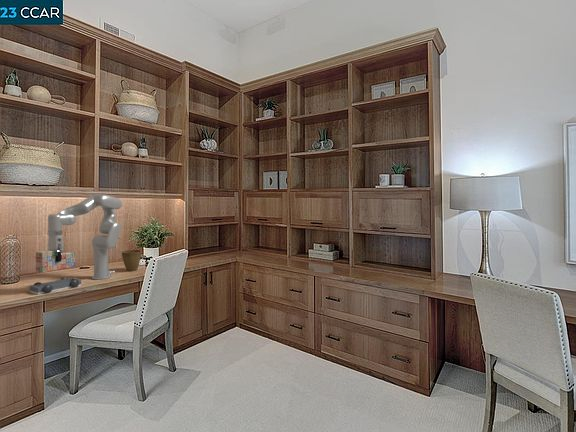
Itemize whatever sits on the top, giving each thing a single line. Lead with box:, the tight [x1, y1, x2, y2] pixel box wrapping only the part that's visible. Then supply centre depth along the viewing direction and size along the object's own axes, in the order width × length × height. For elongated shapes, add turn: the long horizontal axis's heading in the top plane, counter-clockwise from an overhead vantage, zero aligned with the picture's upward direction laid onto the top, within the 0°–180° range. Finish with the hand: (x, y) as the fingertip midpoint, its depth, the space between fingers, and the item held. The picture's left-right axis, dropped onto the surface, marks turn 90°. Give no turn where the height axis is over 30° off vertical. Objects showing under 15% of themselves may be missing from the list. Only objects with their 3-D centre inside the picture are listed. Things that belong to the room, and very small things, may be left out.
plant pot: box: [121, 249, 142, 272], centre depth 278 cm, size 15×15×16 cm
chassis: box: [29, 277, 82, 295], centre depth 220 cm, size 26×13×5 cm, turn 150°
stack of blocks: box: [35, 249, 76, 273], centre depth 220 cm, size 21×6×12 cm, turn 159°
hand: (55, 260), depth 219 cm, fingers closed on stack of blocks, 6 cm apart
